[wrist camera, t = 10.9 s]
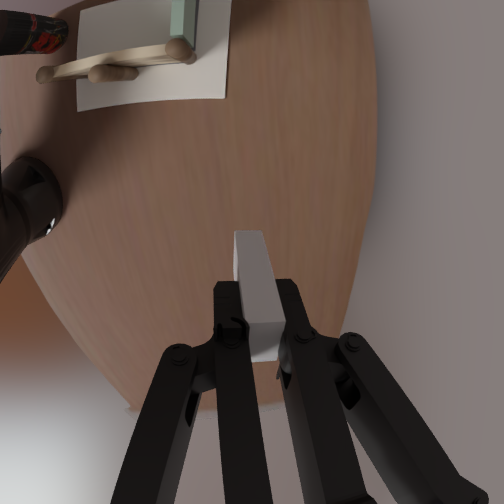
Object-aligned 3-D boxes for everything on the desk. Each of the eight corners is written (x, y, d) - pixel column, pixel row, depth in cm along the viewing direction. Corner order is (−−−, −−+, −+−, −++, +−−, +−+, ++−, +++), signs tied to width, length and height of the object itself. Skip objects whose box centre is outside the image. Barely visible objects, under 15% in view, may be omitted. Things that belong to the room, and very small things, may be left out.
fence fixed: (82, 89, 28) (36, 98, 19) (82, 67, 26) (35, 69, 17) (196, 75, 30) (184, 71, 21) (197, 51, 28) (186, 37, 19)
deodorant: (66, 13, 20) (7, 0, 8) (70, 42, 24) (9, 37, 11) (36, 32, 20) (-25, 30, 8) (41, 60, 24) (-23, 67, 11)
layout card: (78, 111, 30) (77, 112, 30) (81, 11, 21) (80, 10, 20) (224, 98, 33) (224, 98, 33) (232, -10, 23) (232, -11, 23)
